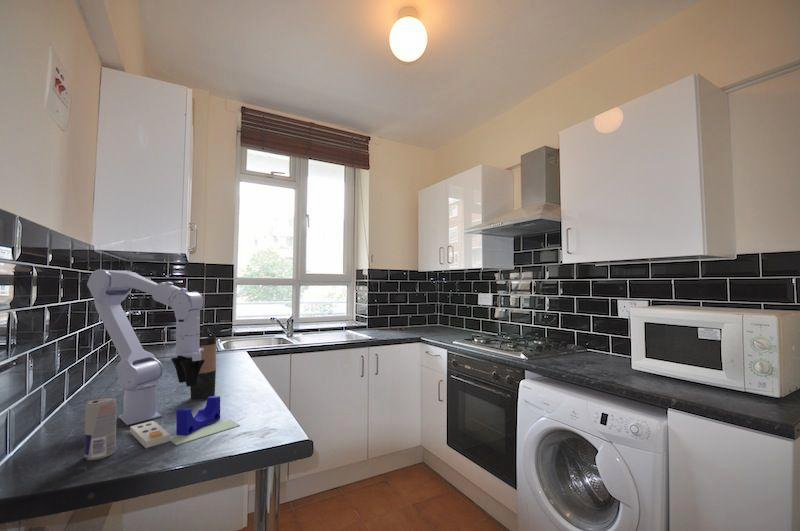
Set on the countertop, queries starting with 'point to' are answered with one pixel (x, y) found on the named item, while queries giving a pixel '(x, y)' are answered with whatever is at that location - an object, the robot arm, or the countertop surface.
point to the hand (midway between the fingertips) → (187, 383)
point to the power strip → (150, 434)
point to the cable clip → (197, 417)
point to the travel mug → (206, 370)
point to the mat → (204, 432)
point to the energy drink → (100, 428)
